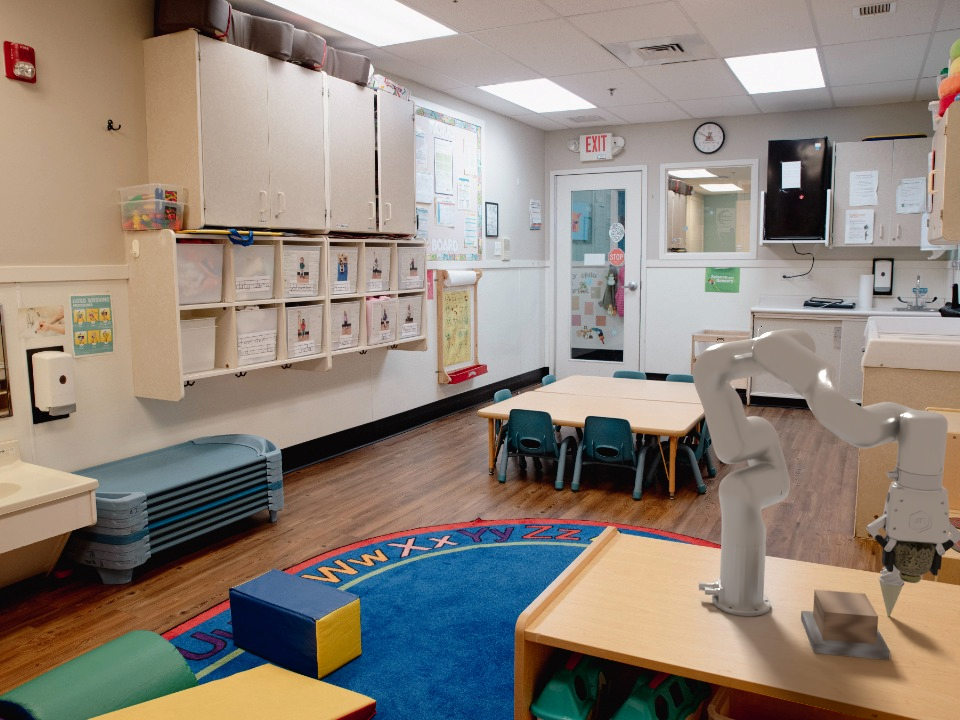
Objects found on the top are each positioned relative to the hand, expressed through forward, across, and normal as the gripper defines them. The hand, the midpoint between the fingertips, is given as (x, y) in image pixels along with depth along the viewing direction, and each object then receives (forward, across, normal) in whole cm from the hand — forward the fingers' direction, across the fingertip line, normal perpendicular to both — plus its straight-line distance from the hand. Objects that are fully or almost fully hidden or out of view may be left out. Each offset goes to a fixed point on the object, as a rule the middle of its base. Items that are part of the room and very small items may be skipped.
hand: (910, 570), depth 145 cm
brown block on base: (+22, -8, +12) cm, 26 cm away
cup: (+2, 0, 0) cm, 2 cm away
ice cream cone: (+22, +4, +24) cm, 33 cm away
